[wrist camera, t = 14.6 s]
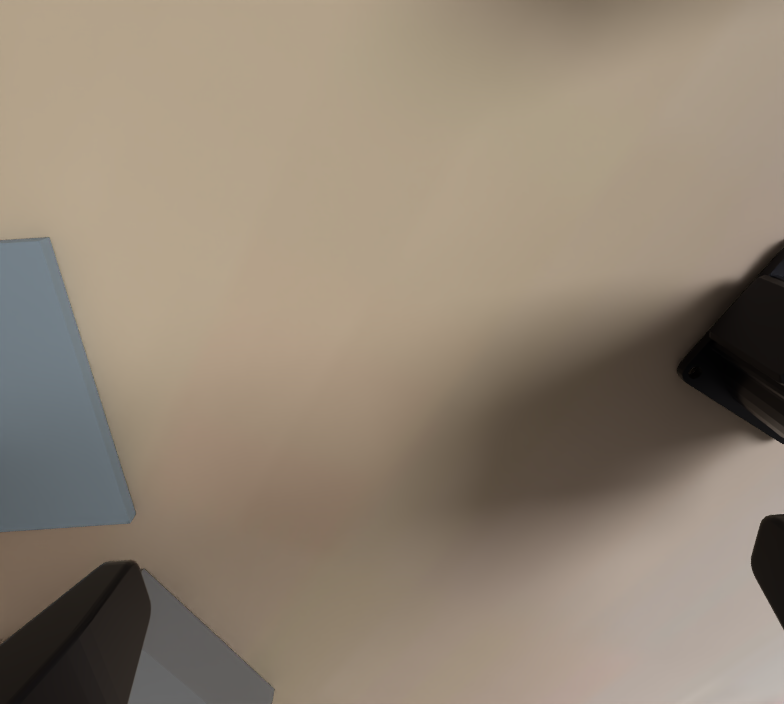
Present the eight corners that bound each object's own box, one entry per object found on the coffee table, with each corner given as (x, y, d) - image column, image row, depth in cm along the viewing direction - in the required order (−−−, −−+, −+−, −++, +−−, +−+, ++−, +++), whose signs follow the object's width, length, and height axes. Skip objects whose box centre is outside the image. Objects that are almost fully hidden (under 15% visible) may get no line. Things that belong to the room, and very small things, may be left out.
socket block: (143, 568, 24) (114, 625, 22) (274, 689, 28) (263, 751, 25) (-14, 653, 26) (-58, 715, 24) (128, 755, 30) (103, 820, 27)
